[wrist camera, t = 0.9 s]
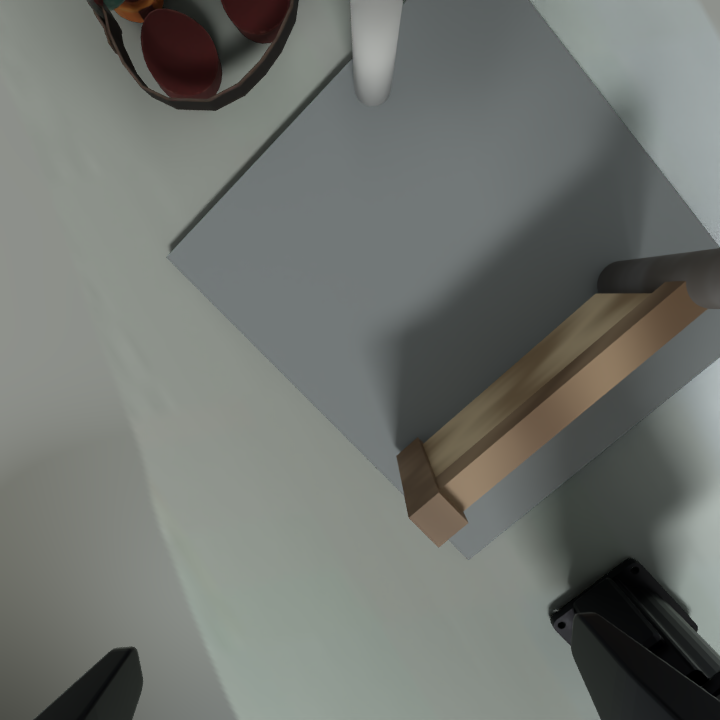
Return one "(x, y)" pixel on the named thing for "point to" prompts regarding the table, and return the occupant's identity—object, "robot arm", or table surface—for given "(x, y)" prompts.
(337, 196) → the gate base
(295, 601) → the table surface
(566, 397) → the wooden bar with ends
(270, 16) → the binoculars
